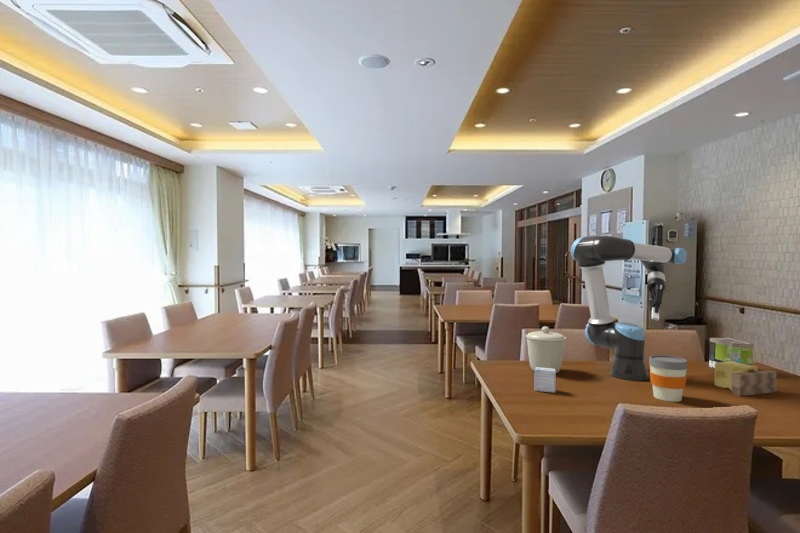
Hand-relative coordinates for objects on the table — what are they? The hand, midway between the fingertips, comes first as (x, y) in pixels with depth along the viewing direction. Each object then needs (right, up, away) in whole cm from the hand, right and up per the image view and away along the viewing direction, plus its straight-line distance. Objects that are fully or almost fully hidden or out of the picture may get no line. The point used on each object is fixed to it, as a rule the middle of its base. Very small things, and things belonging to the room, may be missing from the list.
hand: (655, 319), depth 195 cm
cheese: (+19, -26, -23) cm, 39 cm away
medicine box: (-61, -25, -28) cm, 72 cm away
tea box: (+39, -26, +5) cm, 47 cm away
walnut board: (+21, -26, -29) cm, 44 cm away
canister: (-51, -25, +1) cm, 57 cm away
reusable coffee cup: (-17, -26, -36) cm, 47 cm away
